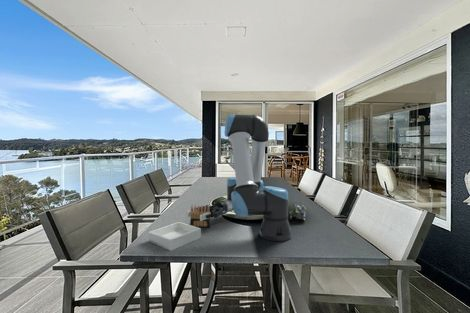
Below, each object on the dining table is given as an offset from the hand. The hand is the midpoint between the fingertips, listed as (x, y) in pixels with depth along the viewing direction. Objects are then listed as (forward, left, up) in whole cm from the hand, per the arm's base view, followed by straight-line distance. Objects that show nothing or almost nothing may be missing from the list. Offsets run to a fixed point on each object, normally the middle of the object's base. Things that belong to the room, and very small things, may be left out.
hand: (193, 216), depth 129 cm
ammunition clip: (0, -5, -8) cm, 9 cm away
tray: (-2, +13, -7) cm, 15 cm away
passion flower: (-34, -48, -8) cm, 59 cm away
